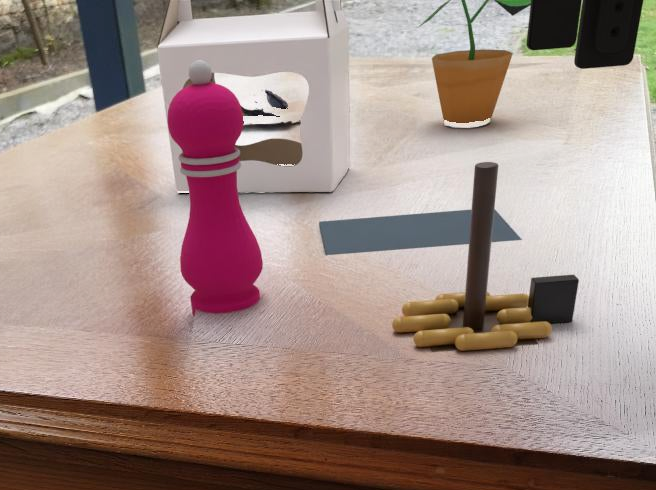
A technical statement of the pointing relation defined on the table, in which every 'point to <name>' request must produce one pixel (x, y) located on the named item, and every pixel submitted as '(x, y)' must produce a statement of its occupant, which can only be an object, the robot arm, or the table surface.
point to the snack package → (272, 100)
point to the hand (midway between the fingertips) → (574, 56)
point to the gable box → (262, 59)
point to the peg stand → (479, 259)
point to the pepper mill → (213, 197)
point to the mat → (406, 232)
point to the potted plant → (472, 73)
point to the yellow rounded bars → (516, 318)
